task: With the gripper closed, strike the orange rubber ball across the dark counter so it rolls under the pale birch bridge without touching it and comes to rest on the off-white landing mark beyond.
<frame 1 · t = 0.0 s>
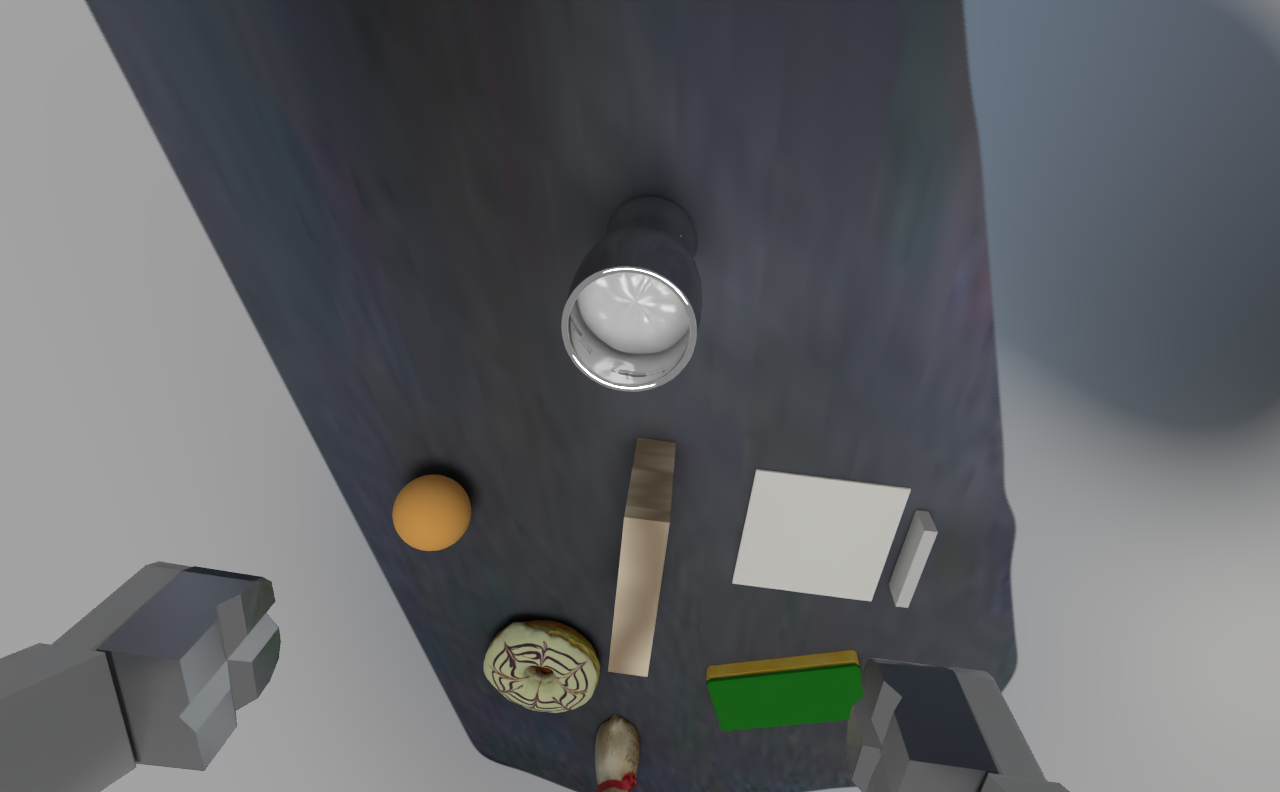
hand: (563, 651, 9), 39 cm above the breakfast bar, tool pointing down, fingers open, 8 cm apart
dish sponge: (784, 677, 66), on the breakfast bar
ball: (432, 512, 55), on the breakfast bar
chocolate bunny: (619, 739, 72), on the breakfast bar
beer glass: (651, 240, 46), on the breakfast bar
decorated donut: (547, 647, 67), on the breakfast bar
landing mark: (816, 537, 57), on the breakfast bar
bridge: (647, 515, 57), on the breakfast bar
stopper: (907, 549, 57), on the breakfast bar
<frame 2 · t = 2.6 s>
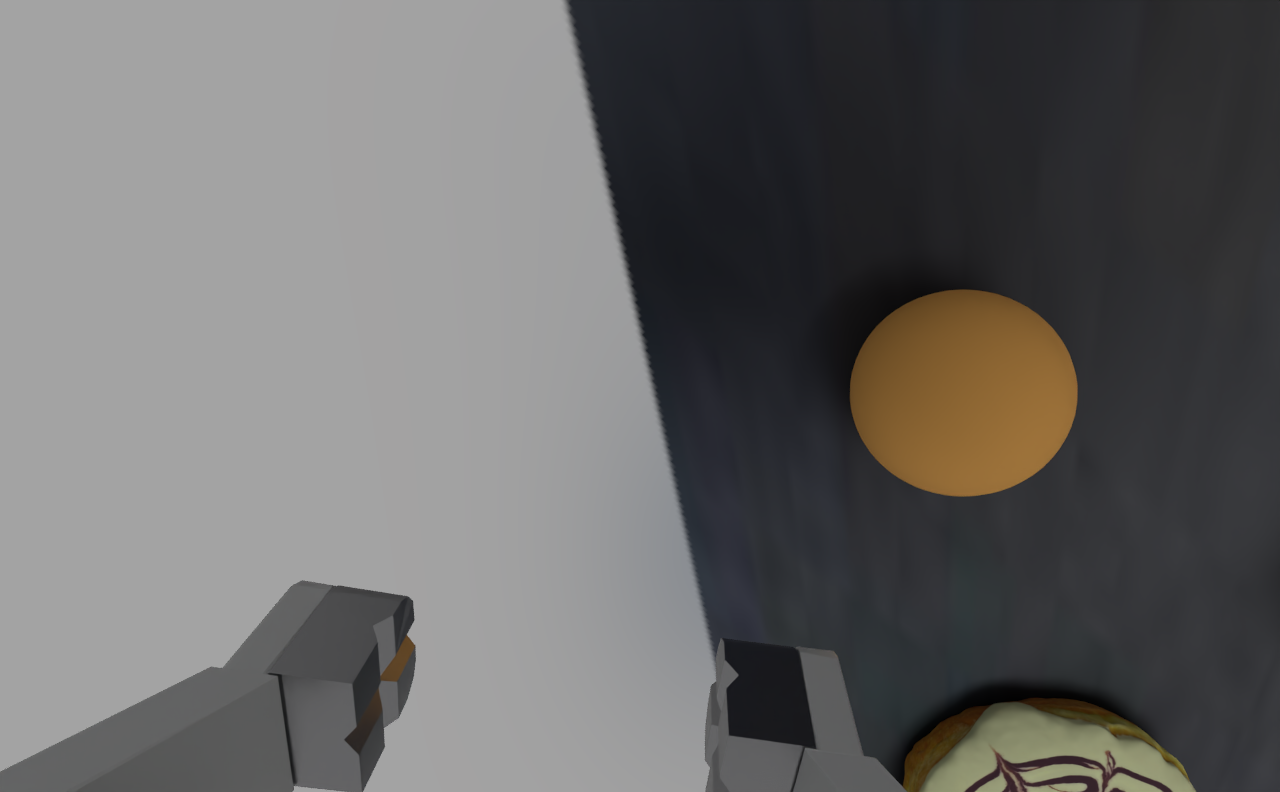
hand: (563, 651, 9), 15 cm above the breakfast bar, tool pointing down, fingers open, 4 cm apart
ball: (956, 392, 20), on the breakfast bar
decorated donut: (1019, 761, 30), on the breakfast bar
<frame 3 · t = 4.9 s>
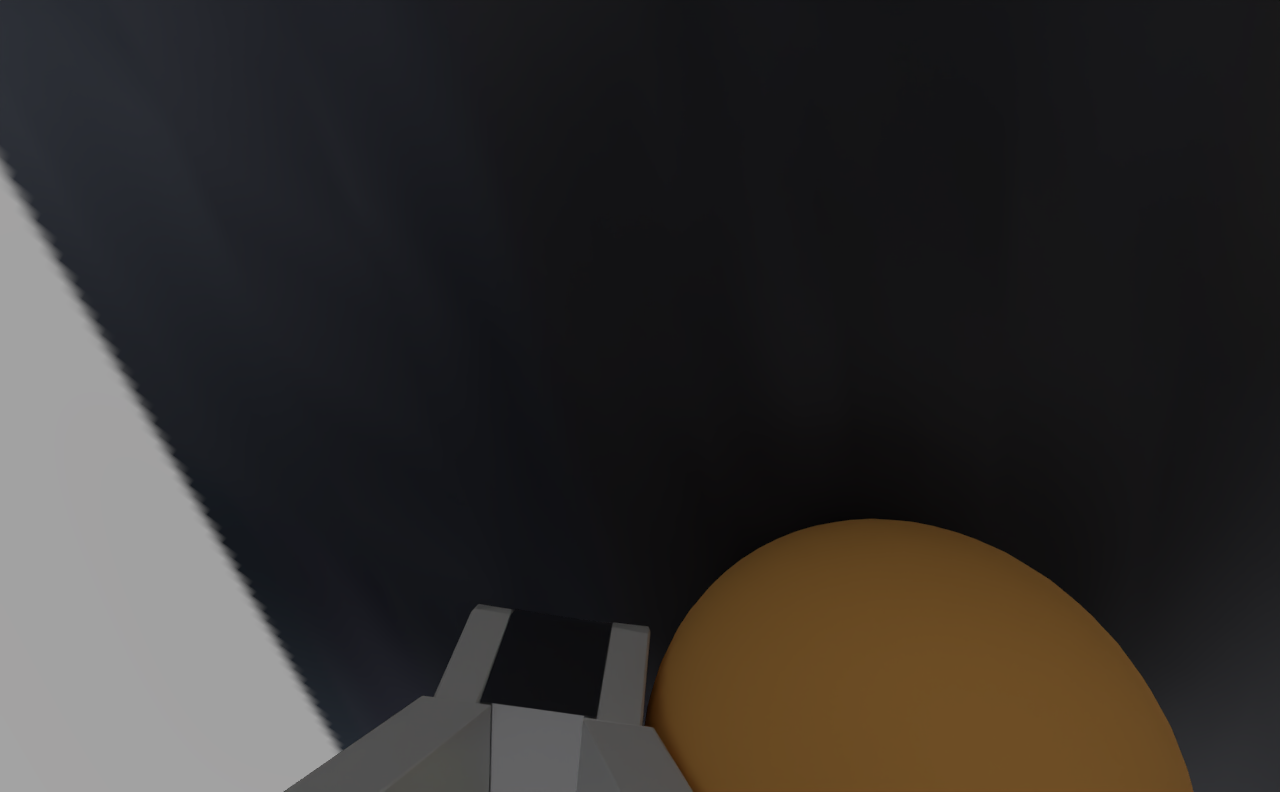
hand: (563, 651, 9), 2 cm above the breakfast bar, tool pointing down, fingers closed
ball: (887, 768, 8), on the breakfast bar, touching gripper
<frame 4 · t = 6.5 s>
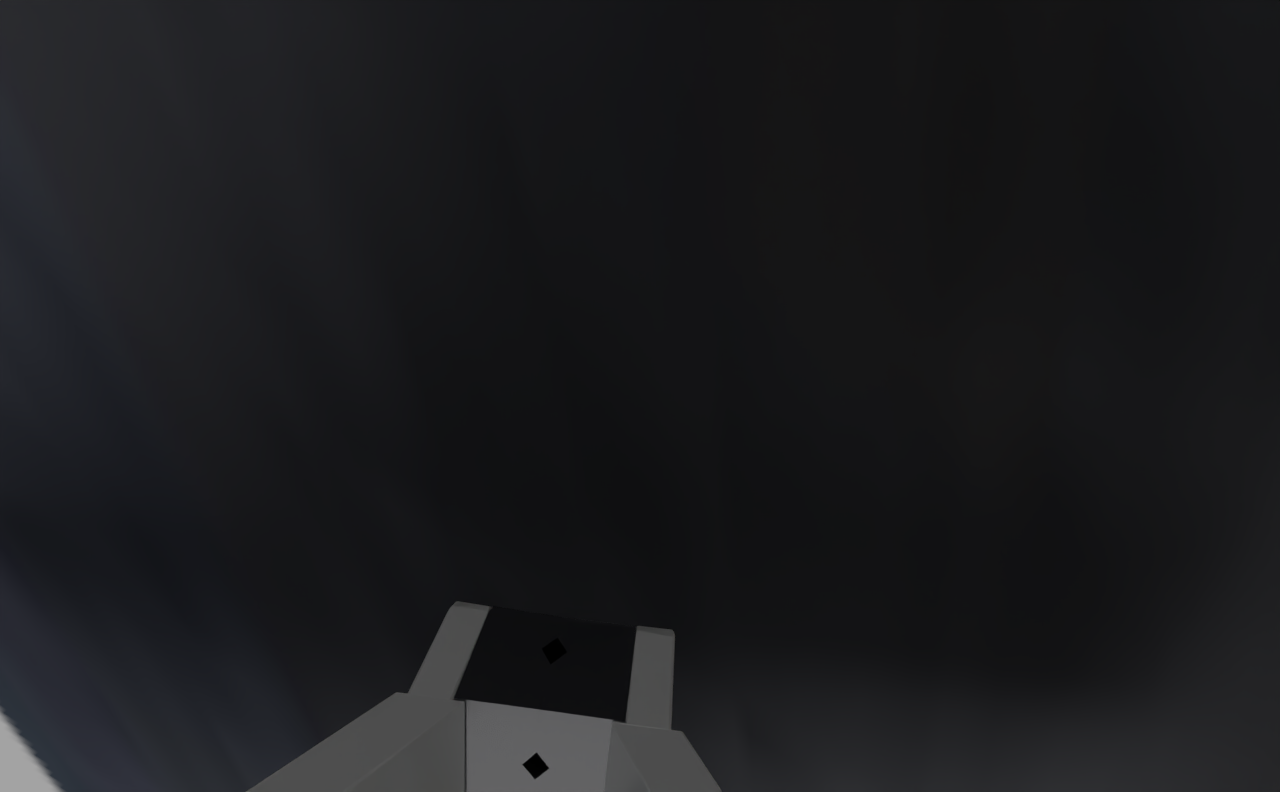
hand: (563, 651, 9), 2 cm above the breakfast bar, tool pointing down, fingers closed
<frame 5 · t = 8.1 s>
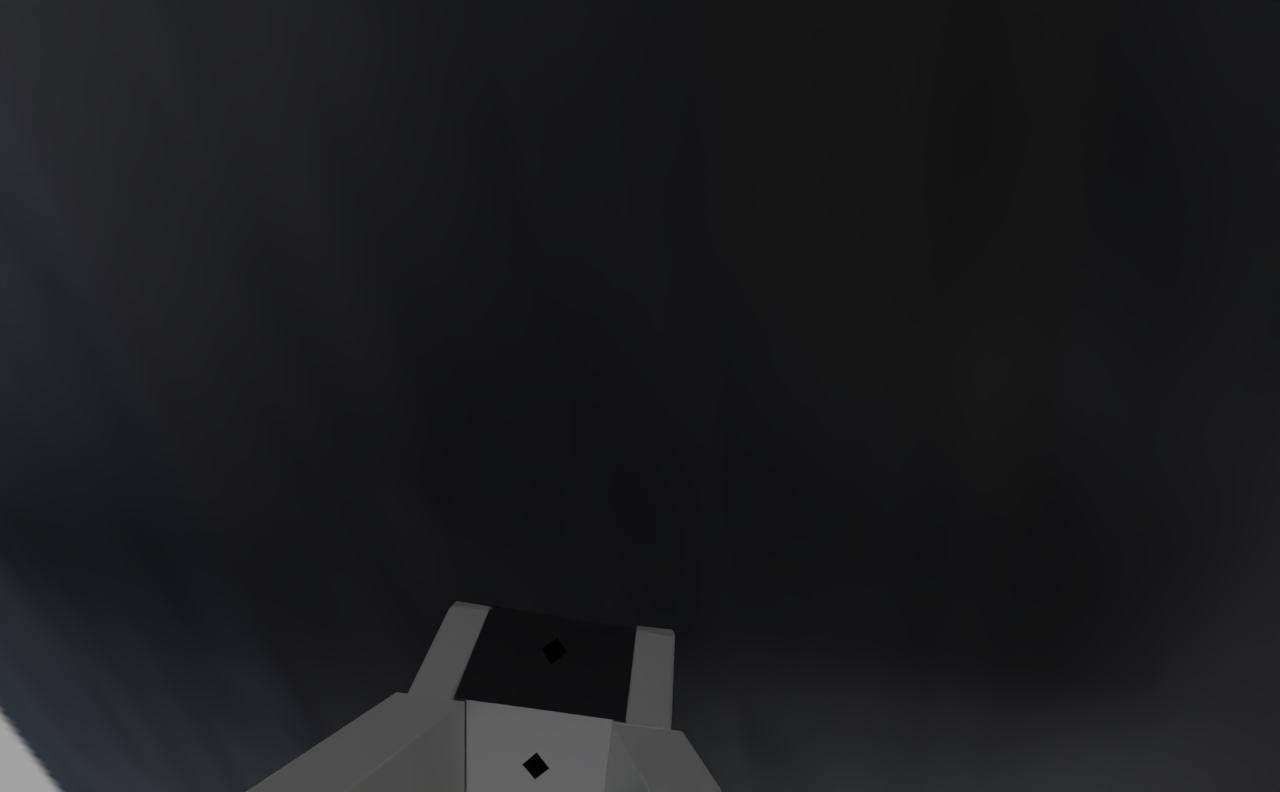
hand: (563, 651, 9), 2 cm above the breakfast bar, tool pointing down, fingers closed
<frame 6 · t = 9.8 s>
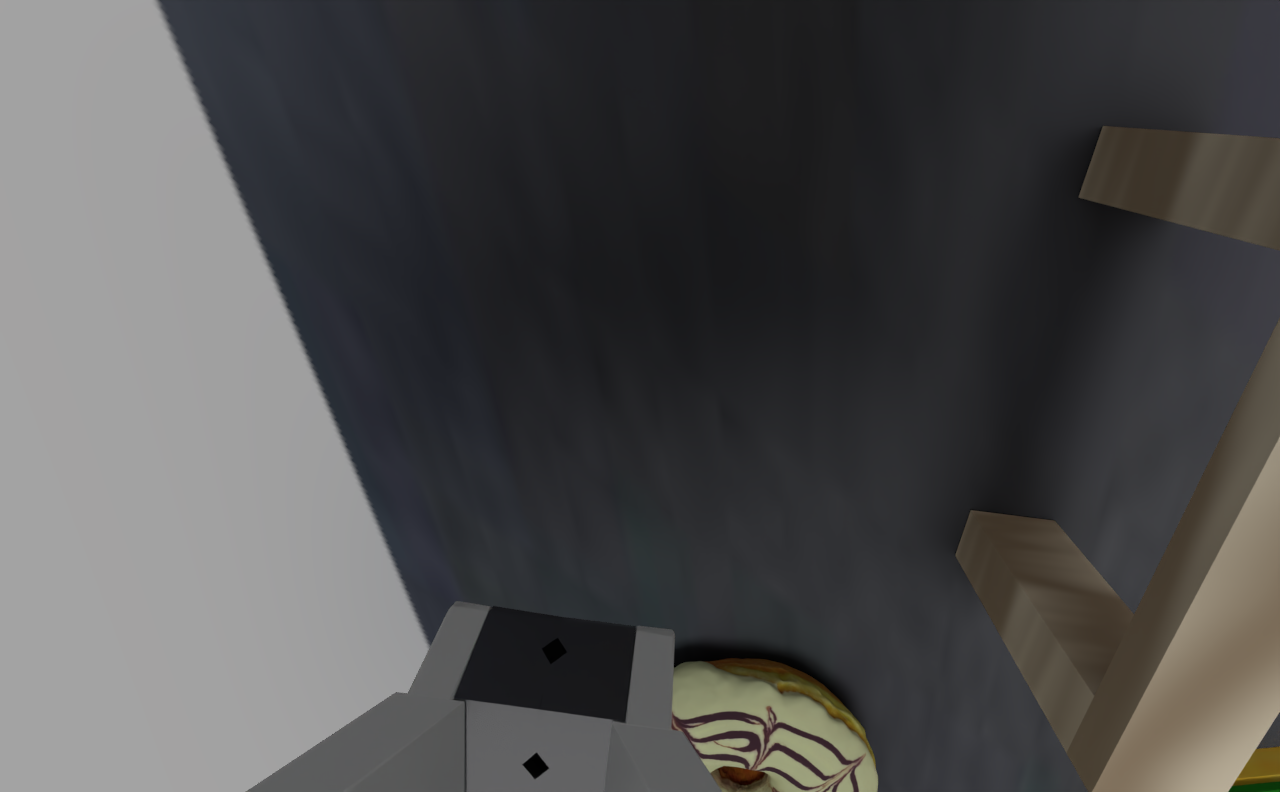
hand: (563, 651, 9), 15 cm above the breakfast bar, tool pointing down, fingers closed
dish sponge: (1261, 790, 30), on the breakfast bar
decorated donut: (736, 724, 31), on the breakfast bar
bridge: (1065, 374, 23), on the breakfast bar
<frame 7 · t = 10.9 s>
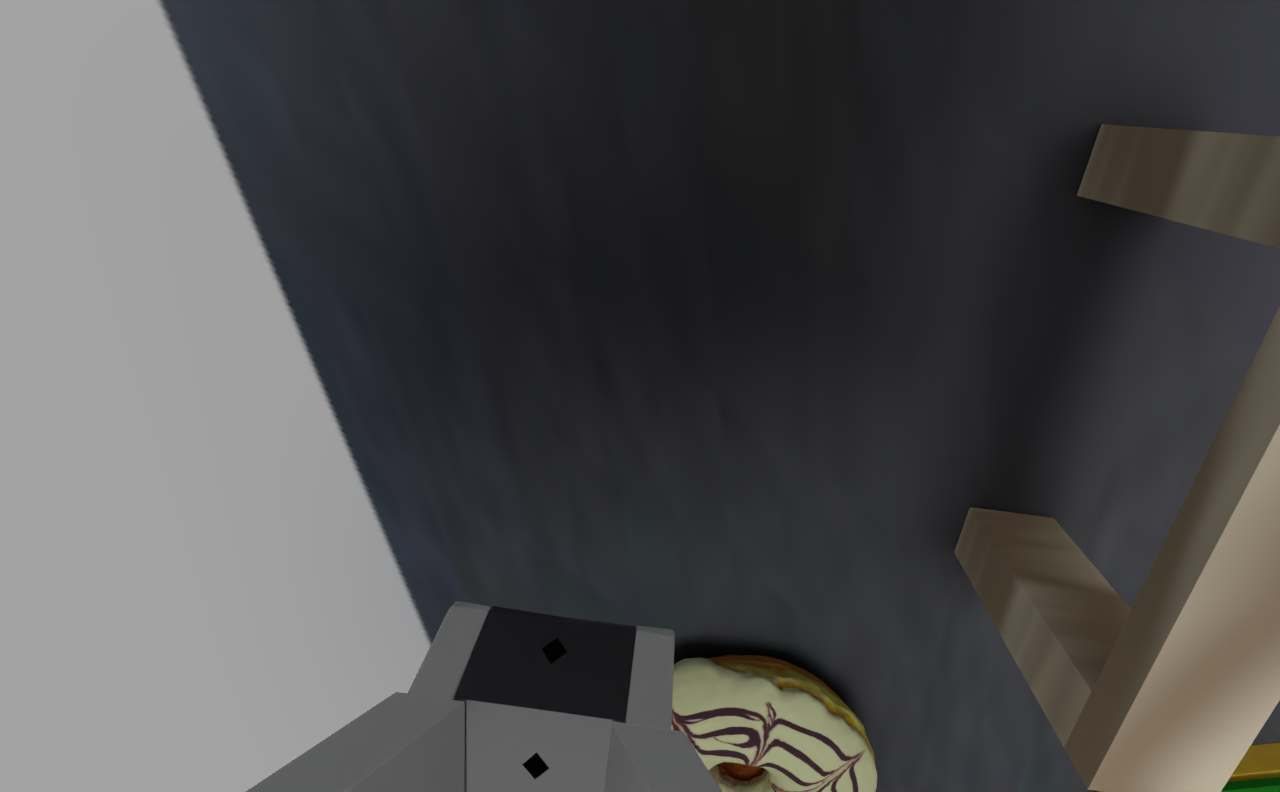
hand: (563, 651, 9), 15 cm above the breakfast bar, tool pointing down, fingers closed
dish sponge: (1259, 786, 30), on the breakfast bar
decorated donut: (736, 720, 31), on the breakfast bar
bridge: (1063, 371, 23), on the breakfast bar
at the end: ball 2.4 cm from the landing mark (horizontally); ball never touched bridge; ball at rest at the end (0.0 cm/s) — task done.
